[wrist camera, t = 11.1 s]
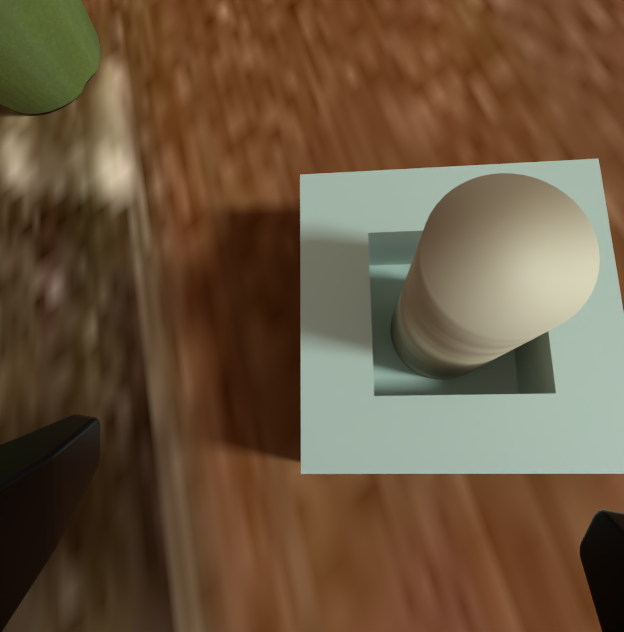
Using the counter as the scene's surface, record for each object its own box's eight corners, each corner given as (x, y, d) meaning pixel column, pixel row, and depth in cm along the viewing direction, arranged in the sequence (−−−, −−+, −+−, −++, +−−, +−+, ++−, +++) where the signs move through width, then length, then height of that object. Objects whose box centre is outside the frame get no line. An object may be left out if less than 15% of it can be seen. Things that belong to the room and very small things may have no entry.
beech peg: (507, 356, 22) (634, 294, 12) (415, 395, 22) (468, 363, 12) (462, 269, 23) (545, 148, 13) (374, 306, 23) (393, 211, 13)
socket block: (582, 463, 21) (649, 473, 16) (312, 464, 22) (300, 473, 17) (549, 213, 24) (598, 158, 19) (310, 224, 25) (300, 174, 20)
